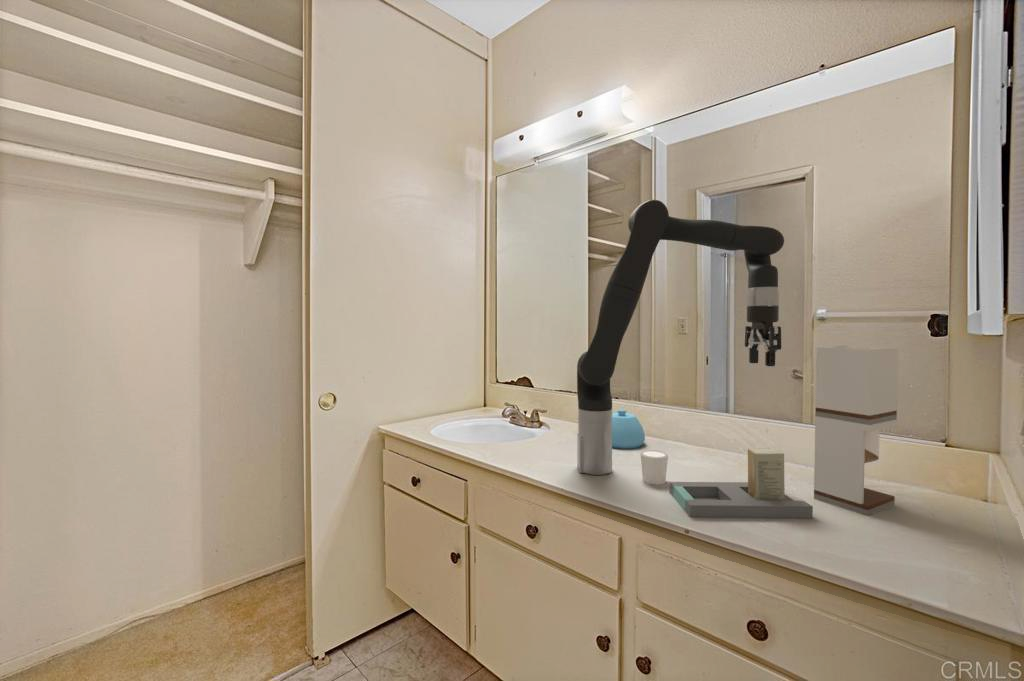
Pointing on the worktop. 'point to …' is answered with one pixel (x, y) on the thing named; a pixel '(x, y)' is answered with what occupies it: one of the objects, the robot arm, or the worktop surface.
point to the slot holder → (735, 501)
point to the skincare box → (766, 474)
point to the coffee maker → (852, 422)
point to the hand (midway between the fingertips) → (761, 364)
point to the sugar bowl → (626, 430)
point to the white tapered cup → (654, 466)
